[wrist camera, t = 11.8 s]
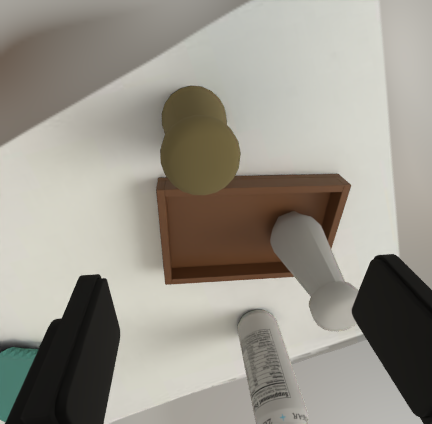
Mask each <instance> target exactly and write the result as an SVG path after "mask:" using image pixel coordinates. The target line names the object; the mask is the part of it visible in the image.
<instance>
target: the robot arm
mask: <svg viewBox="0 0 432 424" xmlns="http://www.w3.org/2000/svg"><path fill="white" fill-rule="evenodd" d="M352 316H353V318H354V320H355V321H356V323H357V324H358V326H359V328H360V329H361V331H362V332H363V334H364V336H365V337H366V339H367V340H368V342H369V343H370V345H371V347H372V348H373V350H374V352H375V353H376V355H377V356H378V358H379V359H380V361H381V362H382V364H383V366H384V367H385V369H386V371H387V372H388V374H389V375H390V377H391V379H392V380H393V382H394V383H395V385H396V386H397V388H398V390H399V391H400V393H401V395H402V396H403V398H404V399H405V401H406V402H407V404H408V406H409V407H410V409H411V410H412V412H413V413H414V414H415V415H416V416H418V417H420V418H421V420H422V422H423V423H424V424H432V290H431V289H430V288H429V287H428V286H427V285H426V284H425V283H424V282H423V281H422V280H421V279H420V278H419V277H418V276H417V275H416V274H415V273H414V272H413V271H412V270H411V269H410V268H409V267H408V266H407V265H406V264H405V263H404V262H403V261H402V260H401V259H400V258H399V257H398V256H396V255H394V254H389V255H377V256H376V257H375V258H374V260H372V261H371V262H370V264H369V267H368V269H367V272H366V274H365V277H364V279H363V282H362V284H361V287H360V289H359V292H358V294H357V297H356V299H355V302H354V304H353V306H352ZM119 341H120V328H119V324H118V320H117V316H116V312H115V309H114V305H113V301H112V297H111V294H110V290H109V286H108V282H107V279H106V278H103V279H102V278H101V276H100V275H99V274H97V275H82V276H80V277H79V279H78V281H77V283H76V286H75V288H74V291H73V293H72V295H71V298H70V300H69V302H68V305H67V307H66V310H65V312H64V314H63V317H62V319H55V320H53V321H52V322H51V324H50V326H49V327H48V329H47V332H46V334H45V336H44V338H43V340H42V343H41V345H40V347H39V349H38V352H37V354H36V356H35V358H34V360H33V363H32V365H31V367H30V369H29V371H28V374H27V376H26V378H25V380H24V383H23V385H22V387H21V389H20V391H19V394H18V396H17V398H16V400H15V402H14V405H13V407H12V409H11V411H10V414H9V416H8V418H7V420H6V422H5V424H103V423H104V418H105V413H106V408H107V402H108V397H109V392H110V387H111V382H112V377H113V372H114V367H115V361H116V356H117V351H118V346H119Z"/></svg>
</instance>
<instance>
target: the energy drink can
mask: <svg viewBox="0 0 432 424" xmlns="http://www.w3.org/2000/svg"><path fill="white" fill-rule="evenodd" d="M238 334H239V340H240V345H241V350H242V355H243V360H244V365H245V370H246V375H247V380H248V385H249V390H250V396H251V401H252V406H253V411H254V416H255V421H256V424H308V412H307V409H306V406H305V403H304V400H303V397H302V394H301V391H300V388H299V385H298V382H297V379H296V376H295V374H294V371H293V368H292V365H291V362H290V359H289V356H288V353H287V350H286V347H285V344H284V341H283V338H282V335H281V332H280V329H279V326H278V323H277V320H276V318H275V317H274V316H272V315H271V314H270V313H269V312H267V311H265V310H253V311H250V312H248V313H246V314H245V315H243V317H242V318H241V320H240V323H239V324H238Z"/></svg>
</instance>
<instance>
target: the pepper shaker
mask: <svg viewBox="0 0 432 424" xmlns="http://www.w3.org/2000/svg"><path fill="white" fill-rule="evenodd" d="M162 126H163V129H164V133H165V137H164V140H163V143H162V146H161V150H160V155H161V165H162V167H163V170H164V173H165V175H166V177H167V178H168V179H169V180H170V182H171V183H172V184H173V185H174V186H175V187H177V188H178V189H180V190H181V191H183V192H185V193H189V194H192V195H208V194H212V193H216V192H218V191H219V190H221V189H223V188H225V187H226V186H227V185H228V184H229V183H230V182H231V181H232V180H233V179H234V177H235V175H236V172H237V170H238V168H239V161H240V154H241V153H240V148H239V143H238V140H237V139H236V137H235V135H234V134H233V132H232V130H231V129H230V128H229V127H228V126H227V120H226V113H225V109H224V106H223V104H222V103H221V101H220V99H219V98H218V97H217V96H216V95H215V94H214V93H213V92H212V91H210V90H208V89H205V88H203V87H199V86H188V87H184V88H181V89H179V90H177V91H176V92H175V93H173V94H172V95H171V96H170V97H169V99H168V100H167V101H166V103H165V105H164V108H163V111H162Z"/></svg>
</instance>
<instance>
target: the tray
mask: <svg viewBox="0 0 432 424" xmlns="http://www.w3.org/2000/svg"><path fill="white" fill-rule="evenodd" d="M350 187H351V184H349V183H348V182H347V181H346V180H345V179H344V178H342V177H341V176H340V175H339V174H312V175H264V176H235V177H234V179H233V180H232V181H231V182H230V183H229V184H228V185H227V186H226V187H225V188H223V189H221V190H219V191H218V192H216V193H212V194H208V195H192V194H189V193H185V192H183V191H181V190H180V189H178V188H177V187H175V186H174V185H173V184H172V183H171V182H170V180H169V179H168V178H158V182H157V189H156V193H157V203H158V213H159V224H160V234H161V245H162V255H163V266H164V276H165V284H166V285H167V284H185V283H201V282H217V281H233V280H249V279H266V278H282V277H294V276H293V274H292V273H291V272H290V271H289V270H288V268H287V267H286V266H285V265H284V264H283V262H282V261H281V260H280V259H279V257H278V256H277V255H276V254H275V253H274V251H273V248H272V246H271V243H270V239H271V234H272V229H273V227H274V225H275V223H276V221H277V219H278V217H279V216H282V215H284V214H287V213H290V212H292V211H295V212H297V213H299V214H302V215H306V216H311V217H312V218H313V219H315V220H316V221H317V222H318V223H319V224H320V225H321V227H322V229H323V231H324V234H325V236H326V238H327V241H328V243H329V245H330V248H332V245H333V241H334V238H335V235H336V232H337V229H338V226H339V222H340V219H341V216H342V213H343V210H344V206H345V203H346V200H347V197H348V194H349V191H350Z"/></svg>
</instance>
